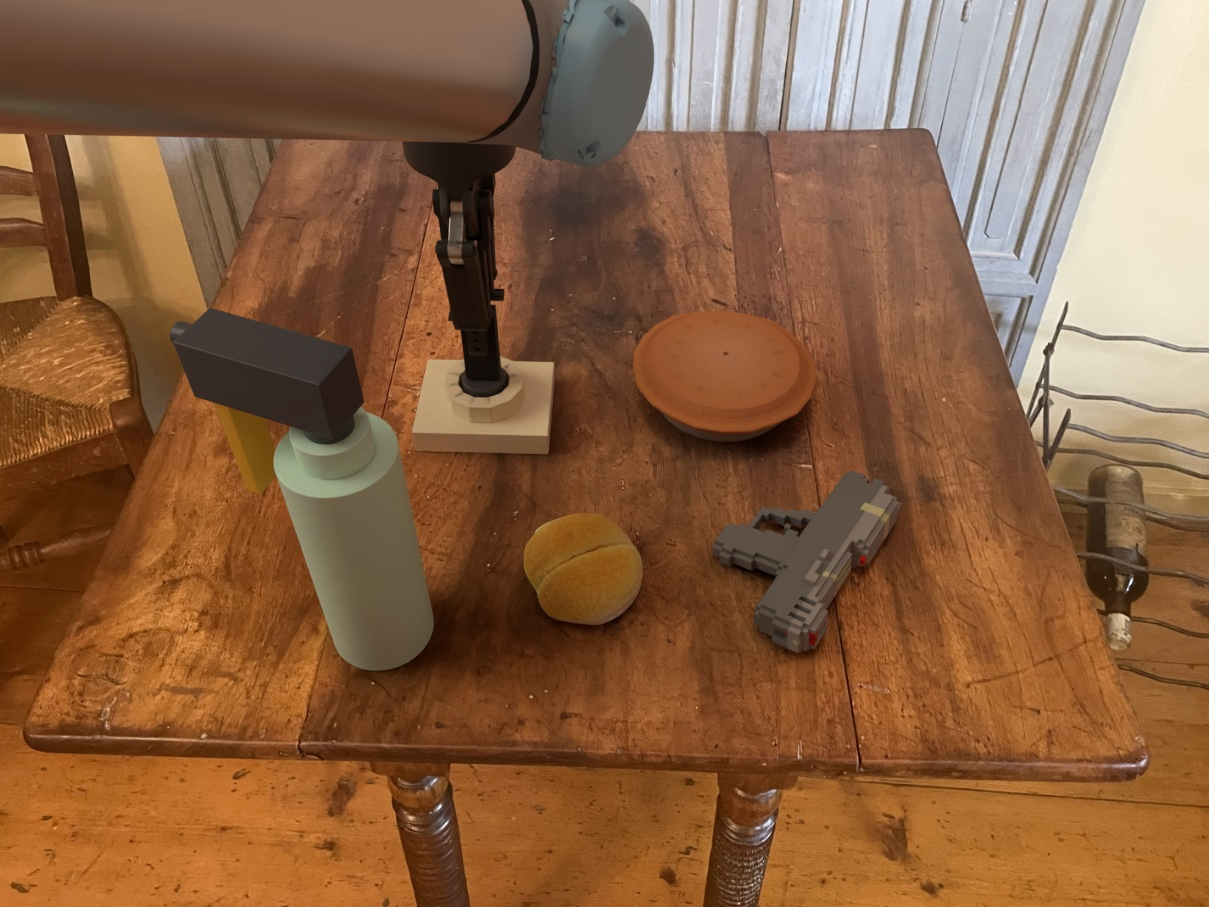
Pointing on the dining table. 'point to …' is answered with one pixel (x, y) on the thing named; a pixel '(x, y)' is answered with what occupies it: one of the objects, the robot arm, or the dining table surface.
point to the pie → (723, 374)
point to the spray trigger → (249, 446)
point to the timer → (485, 410)
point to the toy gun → (810, 555)
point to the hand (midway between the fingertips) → (483, 372)
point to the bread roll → (583, 568)
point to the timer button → (484, 386)
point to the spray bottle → (325, 477)
